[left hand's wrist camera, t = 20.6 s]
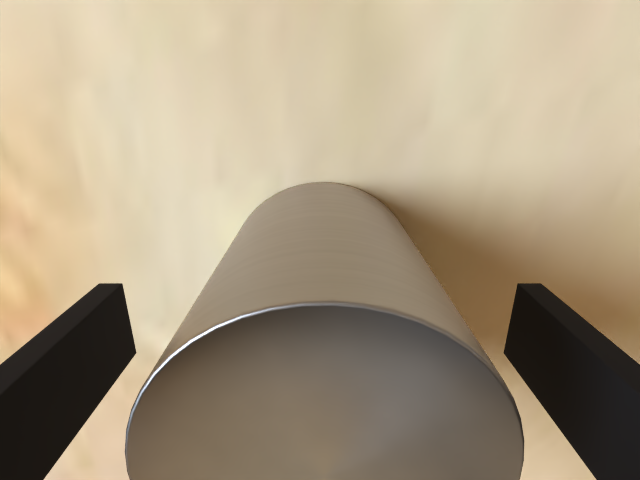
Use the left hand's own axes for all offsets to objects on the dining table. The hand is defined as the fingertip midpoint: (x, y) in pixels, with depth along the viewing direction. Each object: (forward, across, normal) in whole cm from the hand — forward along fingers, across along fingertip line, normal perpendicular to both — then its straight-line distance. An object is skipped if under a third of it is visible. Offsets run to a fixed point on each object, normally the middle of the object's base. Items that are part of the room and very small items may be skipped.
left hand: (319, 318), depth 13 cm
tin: (+4, 0, 0) cm, 4 cm away
